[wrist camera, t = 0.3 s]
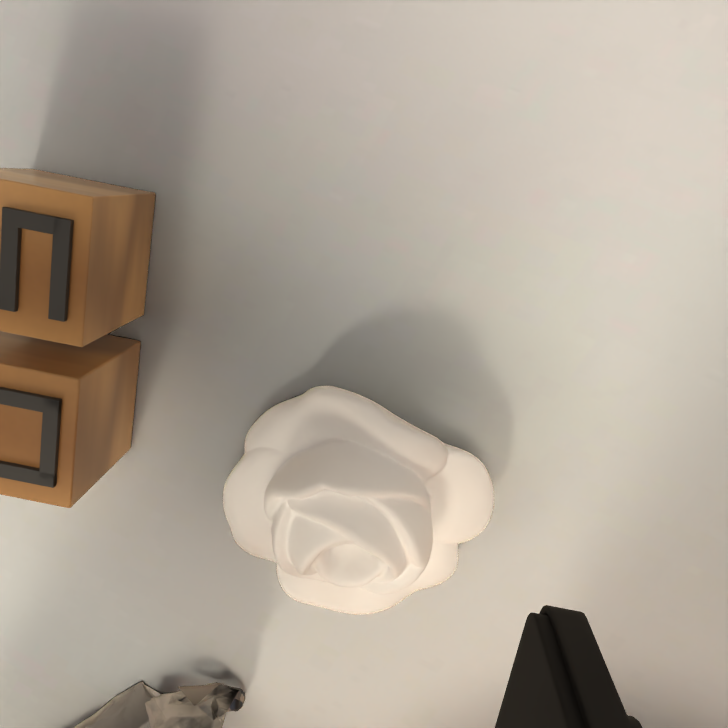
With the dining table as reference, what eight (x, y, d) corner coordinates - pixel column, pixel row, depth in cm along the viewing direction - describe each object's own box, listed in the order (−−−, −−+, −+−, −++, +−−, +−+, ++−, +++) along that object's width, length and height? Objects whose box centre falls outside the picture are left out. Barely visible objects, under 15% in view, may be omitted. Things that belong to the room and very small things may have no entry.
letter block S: (32, 168, 24) (-67, 166, 19) (156, 193, 24) (90, 196, 19) (26, 291, 25) (-69, 320, 20) (144, 315, 25) (78, 349, 20)
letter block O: (25, 317, 25) (-69, 352, 20) (141, 340, 25) (76, 380, 20) (19, 427, 26) (-70, 485, 21) (131, 449, 26) (67, 512, 21)
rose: (470, 377, 20) (532, 644, 23) (458, 343, 25) (512, 570, 27) (163, 448, 21) (253, 694, 24) (203, 404, 26) (276, 616, 28)
